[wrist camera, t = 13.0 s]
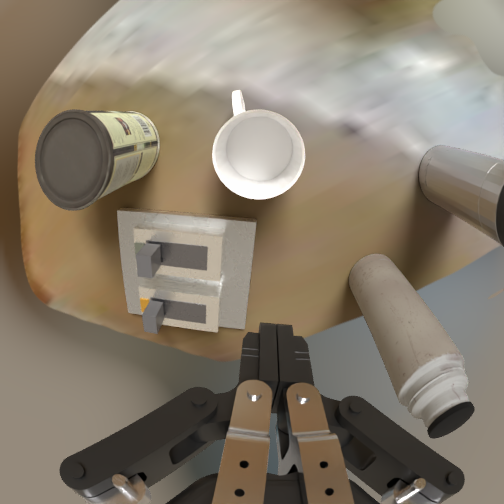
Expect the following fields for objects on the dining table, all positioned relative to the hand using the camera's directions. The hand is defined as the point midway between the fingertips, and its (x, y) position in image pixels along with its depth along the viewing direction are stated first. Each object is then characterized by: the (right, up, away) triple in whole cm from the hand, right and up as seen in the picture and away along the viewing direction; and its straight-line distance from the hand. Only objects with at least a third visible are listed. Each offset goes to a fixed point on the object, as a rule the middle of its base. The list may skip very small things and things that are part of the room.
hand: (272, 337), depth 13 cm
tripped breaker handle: (-15, -4, +27) cm, 31 cm away
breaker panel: (-11, +1, +29) cm, 32 cm away
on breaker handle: (-14, +4, +23) cm, 27 cm away
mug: (0, +19, +21) cm, 28 cm away
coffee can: (-18, +19, +22) cm, 34 cm away
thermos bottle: (+18, 0, +29) cm, 34 cm away
